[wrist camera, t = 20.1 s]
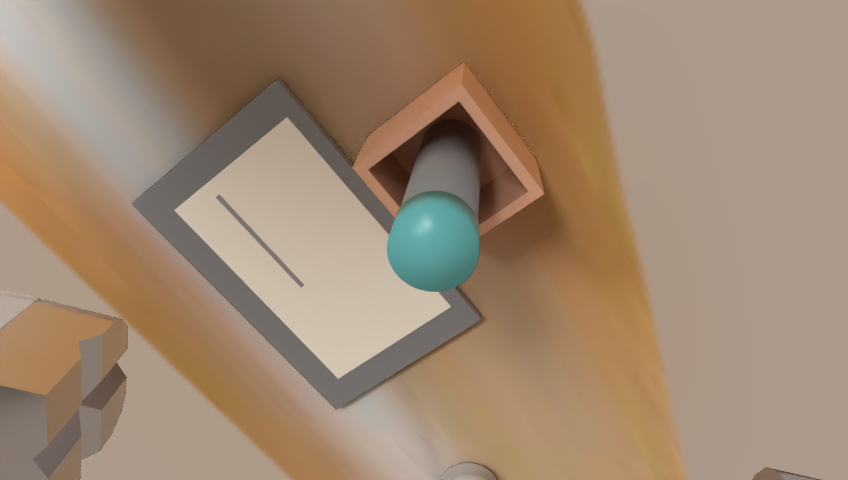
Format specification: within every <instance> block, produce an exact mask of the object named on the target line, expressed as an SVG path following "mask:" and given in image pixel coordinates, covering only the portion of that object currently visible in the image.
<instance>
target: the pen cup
mask: <svg viewBox="0 0 848 480" xmlns="http://www.w3.org/2000/svg"><path fill="white" fill-rule="evenodd" d="M447 119H454V120H459V121H462V122H465V123H467V124H468V125H470V126H471V127H472V128H473V129H474V130H475V131H476V133H477V134H478V136H479V138H480V142H481V170H480V191H479V212H478V222H479V227H480V237H481V236H482V235H484V234H485V233H487V232H488V231H490V230H491V229H493V228H494V227H496V226H497V225H499V224H500V223H502V222H503V221H505V220H506V219H508V218H509V217H511V216H512V215H514V214H515V213H517V212H518V211H520V210H521V209H523V208H524V207H526V206H527V205H529V204H530V203H532V202H533V201H535V200H536V199H538V198H539V197H541V196H542V195H544V189H543V185H542V181H541V176H540V172H539V168H538V164H537V159H536V157H535V156H534V154H533V153H532V152H531V150H530V149H529V148H528V146H527V145H526V144H525V142H524V141H523V140H522V138H521V137H520V136H519V134H518V133H517V132H516V130H515V129H514V128H513V126H512V125H511V124H510V122H509V121H508V120H507V118H506V117H505V116H504V114H503V113H502V112H501V110H500V109H499V108H498V106H497V105H496V103H495V102H494V101H493V99H492V98H491V97H490V95H489V94H488V93H487V91H486V90H485V89H484V87H483V86H482V85H481V83H480V82H479V81H478V79H477V78H476V77H475V75H474V74H473V73H472V71H471V70H470V69H469V67H468V66H467V65H466V63H465V62H463V63H462V64H460V65H459V66H458V67H456V68H455V69H454V70H453V71H451V72H450V73H449V74H447V75H446V76H445V77H444V78H442V79H441V80H440V81H438V82H437V83H436V84H434V85H433V86H432V87H431V88H429V89H428V90H427V91H425V92H424V93H423V94H422V95H420V96H419V97H418V98H416V99H415V100H414V101H413V102H411V103H410V104H409V105H407V106H406V107H405V108H403V109H402V110H401V111H400V112H398V113H397V114H396V115H394V116H393V117H392V118H391V119H389V120H388V121H387V122H385V123H384V124H383V125H382V126H380V127H379V128H378V129H376V130H375V131H374V132H372V133H371V134H370V135H369V136H368V138H367V140H366V142H365V144H364V146H363V147H362V149H361V151H360V153H359V155H358V157H357V159H356V161H355V163H354V165H353V167H352V168H353V169H354V171H355V172H356V173H357V174H358V175H359V176H360V178H361V179H362V180H363V181H364V182H365V184H366V185H367V186H368V187H369V188H370V189H371V191H372V192H373V193H374V194H375V195H376V196H377V198H378V199H379V200H380V201H381V202H382V203H383V205H384V206H385V207H386V208H387V209H388V210H389V212H390V213H391V214H392V215H393V216H394V218H395V216H396V214H397V212H398V210H399V209H400V207H401V205H402V202H403V198H404V195H405V192H406V189H407V186H408V183H409V180H410V177H411V173H412V170H413V167H414V164H415V161H416V158H417V155H418V152H419V148H420V145H421V142H422V139H423V137H424V135H425V133H426V131H427V130H428V129H429V128H430V127H431V126H432V125H434V124H435V123H437V122H439V121H442V120H447Z"/></svg>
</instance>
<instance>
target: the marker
mask: <svg viewBox="0 0 848 480" xmlns="http://www.w3.org/2000/svg"><path fill="white" fill-rule="evenodd" d="M480 170H481V142H480V138H479V136H478V134H477V133H476V131H475V130H474V129H473V128H472V127H471V126H470V125H468V124H467V123H465V122H462V121H459V120H454V119H447V120H442V121H439V122H437V123H435V124H434V125H432V126H431V127H430V128H429V129H428V130H427V131H426V133H425V135H424V137H423V139H422V142H421V145H420V148H419V152H418V155H417V158H416V161H415V164H414V167H413V170H412V173H411V177H410V180H409V183H408V186H407V189H406V192H405V195H404V198H403V202H402V205H401V207H400V209H399V210H398V212H397V214H396V216H395V219H394V222H393V225H392V228H391V231H390V234H389V237H388V242H387V256H388V260H389V263H390V265H391V267H392V269H393V271H394V272H395V273H396V274H397V276H398V277H399V278H400V279H401V280H403V281H404V282H405V283H407V284H408V285H410V286H412V287H414V288H417V289H420V290H423V291H429V292H440V291H446V290H450V289H452V288H455V287H457V286H459V285H460V284H462V283H463V282H465V281H466V280H467V279H468V278H469V277H470V275H471V274H472V273H473V271H474V269H475V267H476V265H477V262H478V258H479V241H480V227H479V222H478V212H479V191H480Z"/></svg>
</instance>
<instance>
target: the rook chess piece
mask: <svg viewBox="0 0 848 480" xmlns="http://www.w3.org/2000/svg"><path fill="white" fill-rule="evenodd" d="M441 480H497V479H496V478H495V476H494V475H493V474H492V472H490V471H489V470H488V469H486V468H485V467H483V466H481V465H479V464H475V463H471V462H470V463H460V464H458V465H455V466H453V467H451V468H449V469H448V470H447V471H446V472H445V473H444V474H443V475H442V478H441Z"/></svg>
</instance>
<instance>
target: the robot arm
mask: <svg viewBox="0 0 848 480" xmlns="http://www.w3.org/2000/svg"><path fill="white" fill-rule="evenodd" d="M127 348H128V326H127V324H126V323H125V322H124V321H123V319H120V318H116V317H112V316H108V315H104V314H100V313H96V312H92V311H88V310H84V309H80V308H76V307H72V306H69V305H64V304H61V303H57V302H52V301H49V300H41V299H39V298H36V297H31V296H27V295H23V294H19V293H14V292H10V291H6V290H3V291H0V480H80V478H81V460H82V459H84V458H86V457H89V456H91V455H93V454H95V453H97V452H99V451H101V449H102V448H103V446H104V445H105V443H106V442H107V440H108V439H109V437H110V436H111V434H112V433H113V430H114V428H115V426H116V423H117V421H118V419H119V416H120V414H121V412H122V407H123V403H124V399H125V394H126V378H127V377H126V376H125V374H124V373H123V371H122V370H121V368H120V367H119V365H118V364H117V361H118V360H119V359H120V357H121V356H122V355H123V354H124V352H125V351H126V350H127ZM752 480H820V479H816V478H811V477H807V476H802V475H798V474H794V473H789V472H785V471H780V470H776V469H771V468H767V467H765V468H764V469H763V470H761V471H760V472H758V473H757V474H756V475H755V476H754V478H753V479H752Z"/></svg>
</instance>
